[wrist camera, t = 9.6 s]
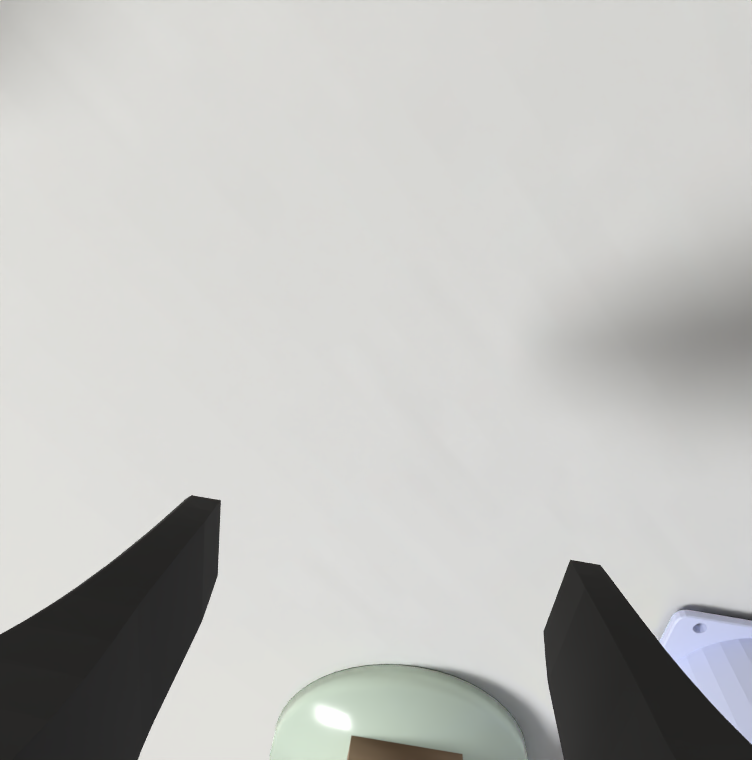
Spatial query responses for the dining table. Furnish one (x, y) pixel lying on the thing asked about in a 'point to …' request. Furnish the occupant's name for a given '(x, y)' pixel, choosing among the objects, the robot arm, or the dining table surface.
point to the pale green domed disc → (395, 716)
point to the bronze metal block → (394, 751)
